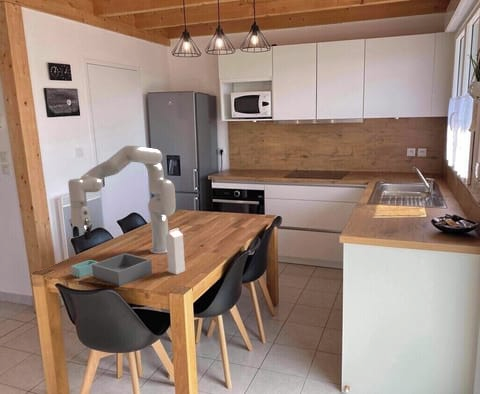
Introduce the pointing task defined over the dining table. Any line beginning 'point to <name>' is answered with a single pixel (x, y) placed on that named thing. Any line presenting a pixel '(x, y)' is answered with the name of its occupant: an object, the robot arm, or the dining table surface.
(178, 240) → the milk
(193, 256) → the dining table surface
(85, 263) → the small crate
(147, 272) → the large crate
